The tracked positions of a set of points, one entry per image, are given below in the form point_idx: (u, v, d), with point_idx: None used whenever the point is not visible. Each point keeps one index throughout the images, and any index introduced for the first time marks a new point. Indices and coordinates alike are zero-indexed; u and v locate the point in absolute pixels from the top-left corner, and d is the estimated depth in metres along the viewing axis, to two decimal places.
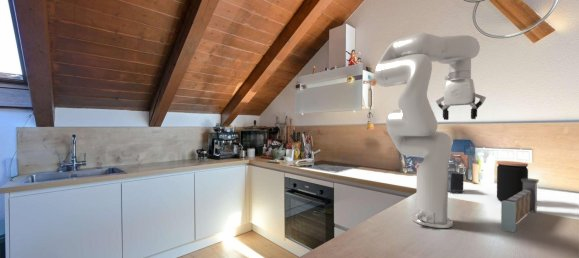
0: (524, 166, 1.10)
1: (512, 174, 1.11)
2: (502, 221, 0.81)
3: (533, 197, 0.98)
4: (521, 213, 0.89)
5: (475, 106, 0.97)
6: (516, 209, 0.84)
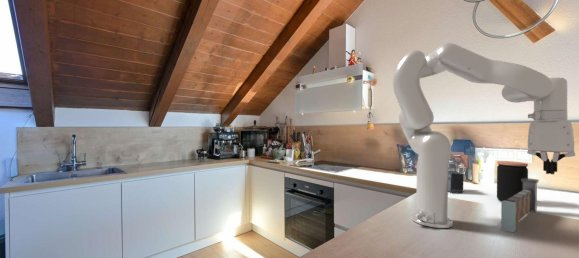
0: (524, 166, 1.10)
1: (512, 174, 1.11)
2: (502, 221, 0.81)
3: (533, 197, 0.98)
4: (521, 213, 0.89)
5: (555, 160, 0.79)
6: (516, 209, 0.84)
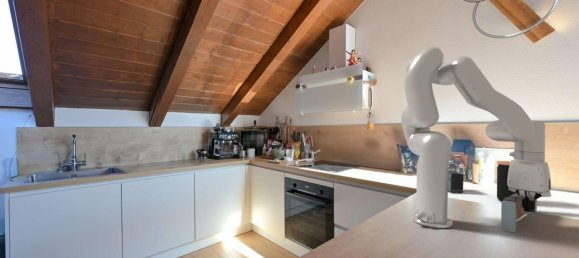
0: None
1: None
2: (502, 221, 0.81)
3: None
4: (519, 213, 0.89)
5: (532, 198, 0.83)
6: None
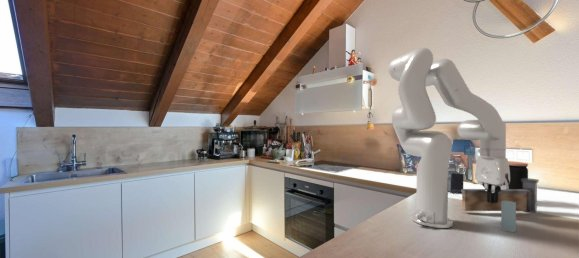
0: (524, 166, 1.10)
1: (512, 174, 1.11)
2: (502, 221, 0.81)
3: (533, 197, 0.98)
4: (492, 206, 0.97)
5: (493, 191, 0.92)
6: (474, 199, 0.97)
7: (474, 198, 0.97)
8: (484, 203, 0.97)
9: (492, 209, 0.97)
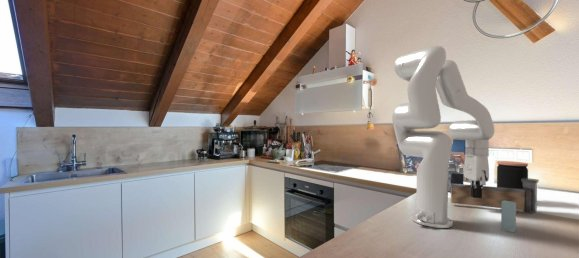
0: (524, 166, 1.10)
1: (512, 174, 1.11)
2: (502, 221, 0.81)
3: (533, 197, 0.98)
4: (482, 201, 1.03)
5: (475, 186, 1.00)
6: (461, 193, 1.06)
7: (461, 192, 1.06)
8: (473, 198, 1.04)
9: (482, 204, 1.03)
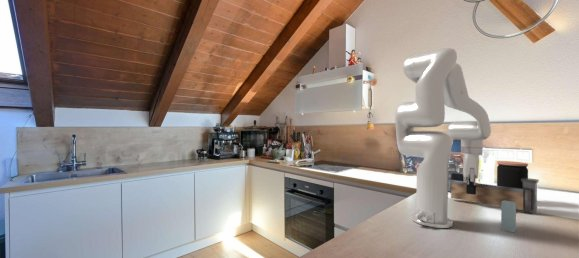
0: (524, 166, 1.10)
1: (512, 174, 1.11)
2: (502, 221, 0.81)
3: (533, 197, 0.98)
4: (480, 198, 1.08)
5: (468, 183, 1.07)
6: (460, 189, 1.13)
7: (460, 188, 1.13)
8: (471, 194, 1.10)
9: (480, 201, 1.08)
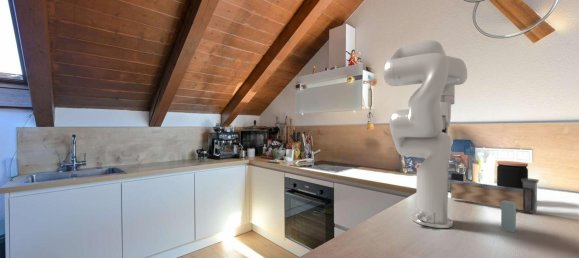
0: (524, 166, 1.10)
1: (512, 174, 1.11)
2: (502, 221, 0.81)
3: (533, 197, 0.98)
4: (480, 198, 1.08)
5: None
6: (460, 189, 1.13)
7: (460, 188, 1.13)
8: (471, 194, 1.10)
9: (480, 201, 1.08)
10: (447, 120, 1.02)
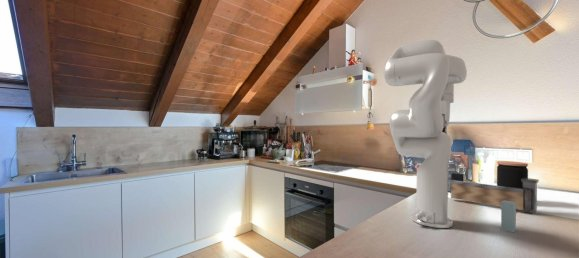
0: (524, 166, 1.10)
1: (512, 174, 1.11)
2: (502, 221, 0.81)
3: (533, 197, 0.98)
4: (480, 198, 1.08)
5: None
6: (460, 189, 1.13)
7: (460, 188, 1.13)
8: (471, 194, 1.10)
9: (480, 201, 1.08)
10: (446, 119, 1.02)
